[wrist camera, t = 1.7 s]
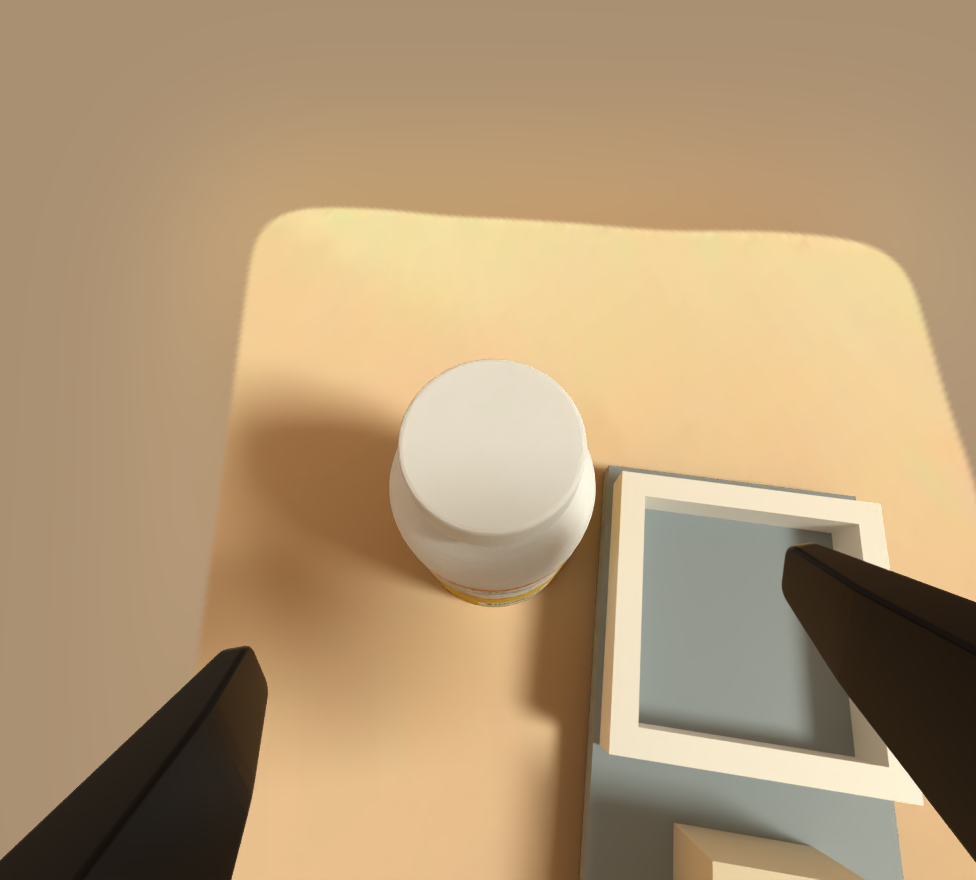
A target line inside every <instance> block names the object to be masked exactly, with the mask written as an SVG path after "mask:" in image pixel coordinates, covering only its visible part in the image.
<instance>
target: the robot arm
mask: <svg viewBox="0 0 976 880" xmlns="http://www.w3.org/2000/svg"><path fill="white" fill-rule="evenodd" d="M782 592H783V595H784V597H785V599H786V601H787V603H788V604H789V606H790V607H791V609H792V611H793V612H794V614H795V615H796V617H797V619H798V620H799V622H800V623H801V625H802V626H803V628H804V630H805V631H806V633H807V634H808V636H809V638H810V639H811V641H812V642H813V644H814V646H815V647H816V649H817V650H818V652H819V654H820V655H821V657H822V658H823V660H824V662H825V663H826V665H827V666H828V668H829V669H830V671H831V672H832V674H833V675H834V677H835V678H836V680H837V681H838V683H839V684H840V685H841V687H842V688H843V689H844V691H845V692H846V694H847V695H848V696H849V698H850V699H851V700H852V701H853V703H854V704H855V705H856V707H857V708H858V709H859V711H860V712H861V713H862V715H863V716H864V717H865V718H866V720H867V721H868V722H869V724H870V725H871V726H872V728H873V729H874V730H875V732H876V733H877V734H878V735H879V737H880V738H881V739H882V741H883V742H884V743H885V745H886V746H887V747H888V748H889V750H890V751H891V752H892V754H893V755H894V756H895V758H896V759H897V760H898V762H899V763H900V764H901V765H902V767H903V768H904V769H905V771H906V772H907V773H908V775H909V776H910V777H911V778H912V780H913V781H914V782H915V784H916V785H917V786H918V788H919V789H920V790H921V792H922V793H923V794H924V795H925V797H926V798H927V799H928V801H929V802H930V803H931V805H932V806H933V807H934V809H935V810H936V811H937V812H938V814H939V815H940V816H941V818H942V819H943V820H944V822H945V823H946V824H947V825H948V827H949V828H950V829H951V831H952V832H953V833H954V835H955V836H956V837H957V839H958V840H959V841H960V842H961V844H962V845H963V846H964V848H965V849H966V850H967V852H968V853H969V854H970V855H971V857H972V858H973V859H974V861H975V862H976V602H974V601H971V600H968V599H966V598H963V597H960V596H958V595H955V594H952V593H949V592H947V591H944V590H941V589H939V588H936V587H933V586H931V585H928V584H925V583H922V582H920V581H917V580H914V579H912V578H909V577H906V576H903V575H901V574H898V573H895V572H893V571H890V570H887V569H885V568H882V567H879V566H876V565H874V564H871V563H868V562H866V561H863V560H860V559H858V558H855V557H852V556H849V555H847V554H844V553H841V552H839V551H836V550H833V549H831V548H828V547H825V546H822V545H820V544H817V543H804V544H798V545H793V546H790V547H789V548H788V549H787V550H786V553H785V559H784V567H783V575H782ZM267 697H268V687H267V682H266V679H265V677H264V674H263V672H262V670H261V667H260V665H259V663H258V660H257V658H256V655H255V653H254V651H253V650H252V649H251V648H250V647H249V646H241V647H236V648H231V649H226V650H223V651H221V652H220V653H219V654H218V655H217V656H216V657H214V658H213V659H212V660H211V661H210V662H209V663H208V664H207V665H206V666H205V667H204V668H203V669H202V670H201V671H200V672H199V673H198V674H197V675H195V676H194V677H193V678H192V679H191V680H190V681H189V682H188V683H187V684H186V685H185V686H184V687H183V688H182V689H181V690H180V691H179V692H178V693H177V694H175V695H174V696H173V697H172V698H171V699H170V700H169V701H168V702H167V703H166V704H165V705H164V706H163V707H162V708H161V709H160V710H159V711H157V713H155V714H154V715H153V716H152V717H151V718H150V719H149V720H148V721H147V722H146V723H145V724H144V725H143V726H142V727H141V728H139V729H138V730H137V731H136V732H135V733H134V734H133V735H132V736H131V737H130V738H129V739H128V740H127V741H126V742H125V743H124V744H123V745H122V746H120V747H119V748H118V749H117V750H116V751H115V752H114V753H113V754H112V755H111V756H110V757H109V758H108V759H107V760H106V761H105V762H104V763H103V764H102V765H100V766H99V768H97V769H96V770H95V771H94V772H93V773H92V774H91V775H90V776H89V777H88V778H87V779H86V780H85V781H84V782H83V783H81V784H80V785H79V786H78V787H77V788H76V789H75V790H74V791H73V792H72V793H71V794H70V795H69V796H68V797H67V798H66V799H65V800H63V802H62V803H60V804H59V805H58V806H57V807H56V808H55V809H54V810H53V811H52V812H51V813H50V814H49V815H48V816H47V817H45V819H43V821H41V822H40V823H39V824H38V825H37V826H36V827H35V828H34V829H33V830H32V831H31V832H30V833H29V834H27V835H26V836H25V837H24V838H23V839H22V840H21V841H20V842H19V843H18V844H17V845H16V846H15V847H14V848H13V849H12V850H11V851H9V853H7V854H6V855H5V856H4V857H3V858H2V859H1V860H0V880H231V879H232V875H233V871H234V867H235V863H236V859H237V855H238V851H239V847H240V844H241V840H242V836H243V832H244V828H245V824H246V820H247V816H248V812H249V808H250V803H251V799H252V794H253V789H254V783H255V777H256V770H257V764H258V757H259V750H260V744H261V737H262V731H263V724H264V717H265V711H266V704H267Z"/></svg>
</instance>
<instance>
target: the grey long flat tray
mask: <svg viewBox="0 0 976 880" xmlns="http://www.w3.org/2000/svg"><path fill="white" fill-rule="evenodd" d="M804 543H817V544H820V545H822V546H825V547H828V548H831V549H833V550H836V551H839V552H841V553H844V554H847V555H849V556H852V557H855V558H858V559H860V560H863V561H866V562H868V563H871V564H874V565H876V566H879V567H882V568H885V569H887V570H890V565H889V558H888V552H887V545H886V538H885V531H884V524H883V517H882V510H881V504H878V503H870V502H863V501H856V497H854V496H846V495H838V494H830V493H822V492H814V491H806V490H799V489H791V488H783V487H775V486H767V485H759V484H751V483H744V482H736V481H728V480H720V479H712V478H704V477H696V476H689V475H681V474H673V473H665V472H657V471H649V470H641V469H634V468H626V467H618V466H610V465H609V467H608V468H607V470H606V471H605V473H604V484H603V500H602V516H601V532H600V549H599V565H598V581H597V597H596V614H595V630H594V646H593V662H592V679H591V695H590V711H589V727H588V744H587V760H586V776H585V792H584V809H583V825H582V841H581V857H580V874H579V880H904V878H903V870H902V862H901V854H900V846H899V838H898V830H897V822H896V814H895V806H894V801H898V802H904V803H910V804H916V805H922V806H924V803H923V796H922V792H921V790H920V789H919V788H918V786H917V785H916V784H915V782H914V781H913V780H912V778H911V777H910V776H909V775H908V773H907V772H906V771H905V769H904V768H903V767H902V765H901V764H900V763H899V762H898V760H897V759H896V758H895V756H894V755H893V754H892V752H891V751H890V750H889V748H888V747H887V746H886V745H885V743H884V742H883V741H882V739H881V738H880V737H879V735H878V734H877V733H876V732H875V730H874V729H873V728H872V726H871V725H870V724H869V722H868V721H867V720H866V718H865V717H864V716H863V715H862V713H861V712H860V711H859V709H858V708H857V707H856V705H855V704H854V703H853V701H852V700H851V699H850V698H849V696H848V695H847V694H846V692H845V691H844V689H843V688H842V687H841V685H840V684H839V683H838V681H837V680H836V678H835V677H834V675H833V674H832V672H831V671H830V669H829V668H828V666H827V665H826V663H825V662H824V660H823V658H822V657H821V655H820V654H819V652H818V650H817V649H816V647H815V646H814V644H813V642H812V641H811V639H810V638H809V636H808V634H807V633H806V631H805V630H804V628H803V626H802V625H801V623H800V622H799V620H798V619H797V617H796V615H795V614H794V612H793V611H792V609H791V607H790V606H789V604H788V603H787V601H786V599H785V597H784V595H783V592H782V575H783V567H784V559H785V553H786V550H787V549H788V548H789V547H790V546H793V545H798V544H804Z"/></svg>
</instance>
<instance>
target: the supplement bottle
mask: <svg viewBox="0 0 976 880" xmlns="http://www.w3.org/2000/svg"><path fill="white" fill-rule="evenodd" d="M595 494H596V482H595V472H594V467H593V463H592V459H591V456H590V453H589V451H588V448H587V442H586V432H585V428H584V424H583V421H582V418H581V416H580V413H579V411H578V409H577V407H576V405H575V404H574V402H573V401H572V399H571V398H570V396H569V395H568V394H567V393H566V391H565V390H564V389H563V388H562V387H561V386H560V385H559V384H558V383H557V382H555V381H554V380H553V379H552V378H550V377H549V376H547V375H546V374H545V373H543V372H541V371H539V370H537V369H535V368H533V367H531V366H528V365H525V364H523V363H519V362H515V361H510V360H503V359H484V360H476V361H471V362H467V363H463V364H460V365H457V366H455V367H453V368H450V369H448V370H446V371H444V372H443V373H441V374H440V375H438V376H437V377H435V378H434V379H432V380H431V381H430V382H428V383H427V384H426V385H425V386H424V387H423V388H422V389H421V390H420V391H419V393H418V394H417V395H416V396H415V398H414V399H413V400H412V402H411V404H410V405H409V407H408V409H407V411H406V413H405V415H404V417H403V420H402V423H401V427H400V431H399V437H398V448H397V451H396V453H395V456H394V459H393V463H392V467H391V471H390V480H389V497H390V505H391V509H392V513H393V517H394V520H395V522H396V525H397V527H398V529H399V531H400V533H401V535H402V537H403V539H404V540H405V542H406V543H407V545H408V546H409V548H410V549H411V550H412V552H413V553H414V554H415V556H416V557H417V558H418V559H419V560H420V562H422V563H423V564H424V565H425V566H426V567H427V568H428V570H429V571H430V572H431V573H432V574H433V575H434V576H435V577H436V579H437V580H438V581H439V582H440V583H441V584H442V585H443V586H444V587H445V588H446V589H447V590H449V591H450V592H451V593H452V594H454V595H455V596H457V597H458V598H460V599H462V600H464V601H466V602H469V603H472V604H475V605H480V606H486V607H504V606H510V605H514V604H517V603H520V602H522V601H525V600H527V599H529V598H531V597H532V596H534V595H535V594H537V593H538V592H540V591H541V590H542V589H543V588H544V587H545V586H546V585H547V584H548V583H549V582H550V581H551V580H552V579H553V578H554V576H555V575H556V573H557V572H558V571H559V570H560V568H561V567H562V566H563V565H564V563H565V562H566V561H567V560H568V558H569V557H570V556H571V554H572V553H573V551H574V550H575V548H576V547H577V545H578V544H579V542H580V541H581V539H582V537H583V535H584V533H585V531H586V529H587V527H588V524H589V522H590V519H591V516H592V512H593V508H594V503H595Z"/></svg>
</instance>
